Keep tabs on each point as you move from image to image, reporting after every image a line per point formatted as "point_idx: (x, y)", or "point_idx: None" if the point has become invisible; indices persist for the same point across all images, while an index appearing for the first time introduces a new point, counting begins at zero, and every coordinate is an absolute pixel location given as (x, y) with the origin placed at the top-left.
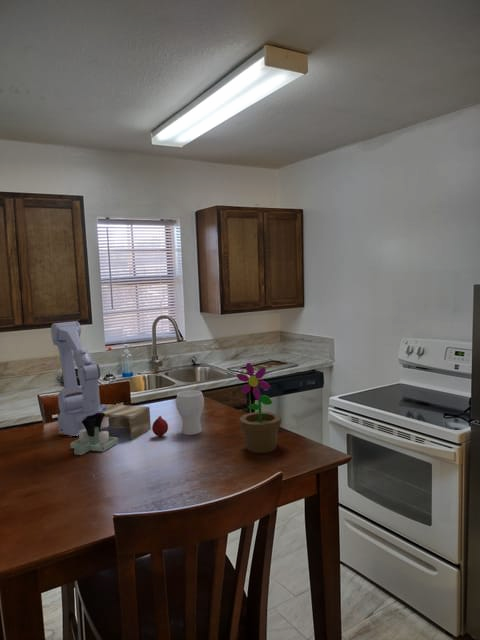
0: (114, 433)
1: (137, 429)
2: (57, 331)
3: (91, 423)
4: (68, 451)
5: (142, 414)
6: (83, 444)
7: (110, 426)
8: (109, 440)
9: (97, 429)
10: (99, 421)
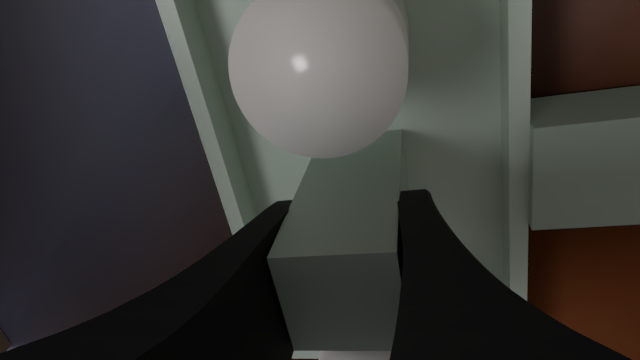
0: (51, 216)
1: None
2: None
3: (566, 333)
4: (576, 295)
5: None
6: (562, 197)
7: (1, 336)
8: (218, 82)
9: (308, 232)
10: (214, 310)
